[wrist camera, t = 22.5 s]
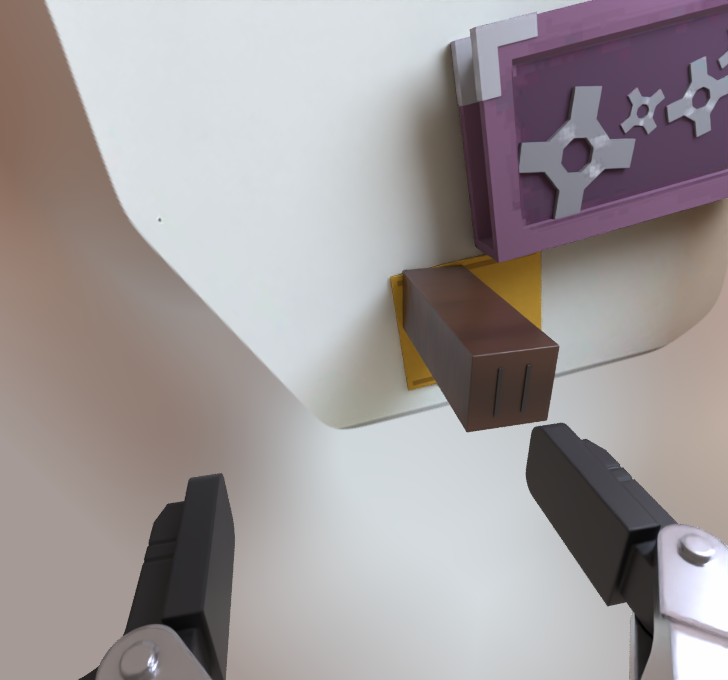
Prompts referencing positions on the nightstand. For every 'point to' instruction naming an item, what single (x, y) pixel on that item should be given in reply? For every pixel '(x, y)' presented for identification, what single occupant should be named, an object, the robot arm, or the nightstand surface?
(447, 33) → the nightstand surface
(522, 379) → the knife block
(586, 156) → the book
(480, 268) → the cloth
